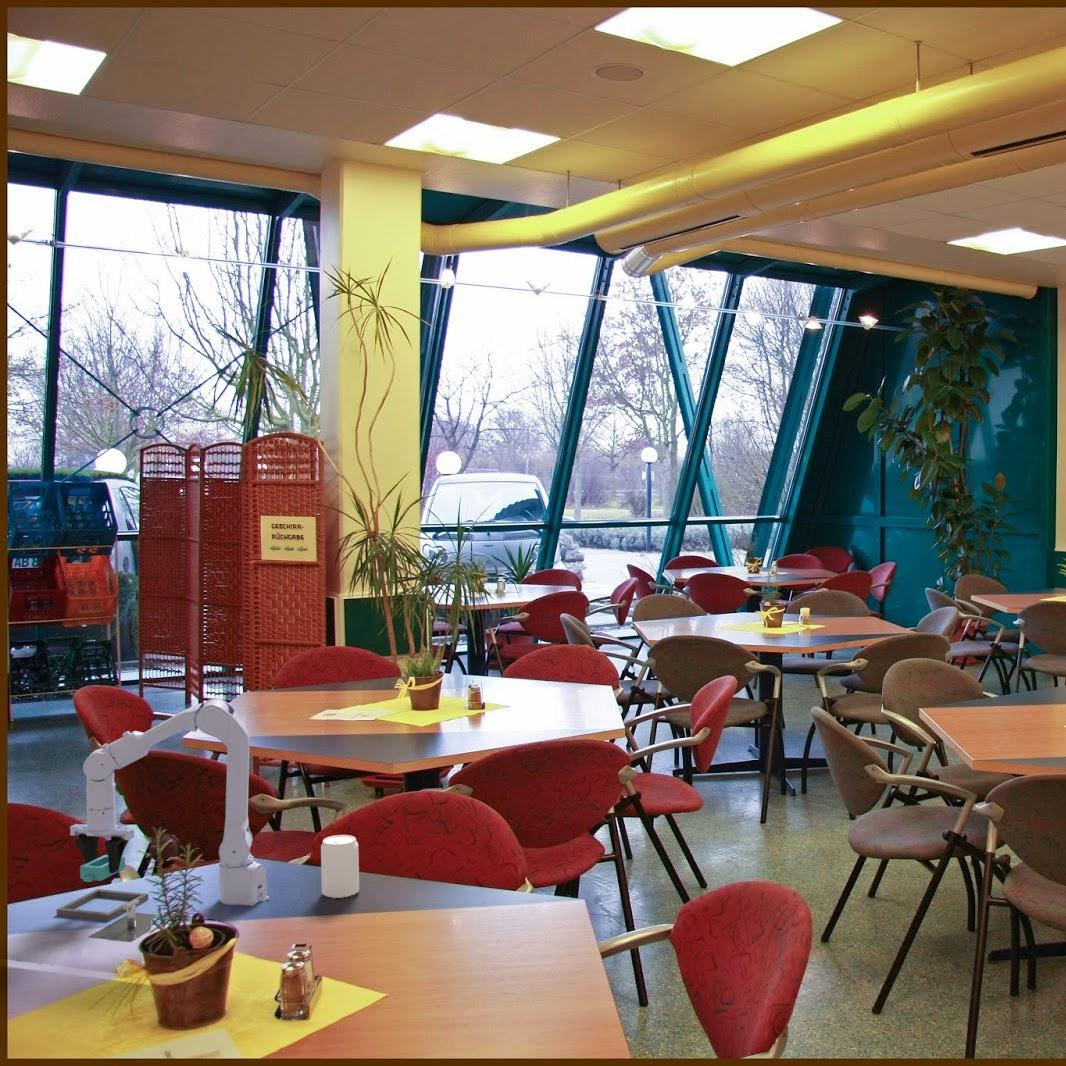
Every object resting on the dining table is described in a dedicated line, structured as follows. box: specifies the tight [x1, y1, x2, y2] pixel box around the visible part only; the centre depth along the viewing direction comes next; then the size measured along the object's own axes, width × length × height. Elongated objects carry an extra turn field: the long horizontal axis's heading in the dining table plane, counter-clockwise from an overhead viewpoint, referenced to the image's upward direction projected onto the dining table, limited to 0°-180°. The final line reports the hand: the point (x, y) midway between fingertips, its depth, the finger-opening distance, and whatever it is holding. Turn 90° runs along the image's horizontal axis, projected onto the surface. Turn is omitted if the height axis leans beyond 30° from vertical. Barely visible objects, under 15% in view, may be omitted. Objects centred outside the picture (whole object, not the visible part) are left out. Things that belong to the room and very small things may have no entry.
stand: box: [87, 900, 159, 943], centre depth 232 cm, size 10×14×6 cm
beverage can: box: [320, 834, 360, 899], centre depth 253 cm, size 8×8×12 cm
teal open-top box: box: [79, 854, 126, 883], centre depth 243 cm, size 5×9×3 cm, turn 163°
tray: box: [55, 888, 149, 922], centre depth 244 cm, size 13×13×2 cm
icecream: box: [148, 833, 181, 868], centre depth 278 cm, size 7×7×15 cm
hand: (103, 870), depth 243 cm, fingers closed on teal open-top box, 5 cm apart
